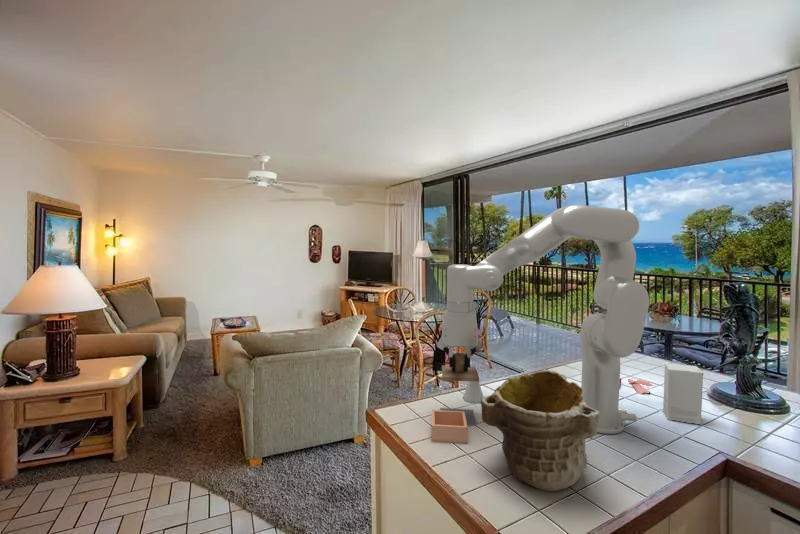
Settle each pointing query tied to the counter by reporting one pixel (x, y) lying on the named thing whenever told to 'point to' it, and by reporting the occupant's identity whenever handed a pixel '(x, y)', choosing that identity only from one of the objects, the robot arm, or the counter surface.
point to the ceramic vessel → (542, 428)
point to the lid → (459, 370)
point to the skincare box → (683, 393)
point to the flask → (473, 392)
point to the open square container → (449, 426)
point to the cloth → (638, 387)
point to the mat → (468, 414)
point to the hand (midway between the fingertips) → (459, 369)
